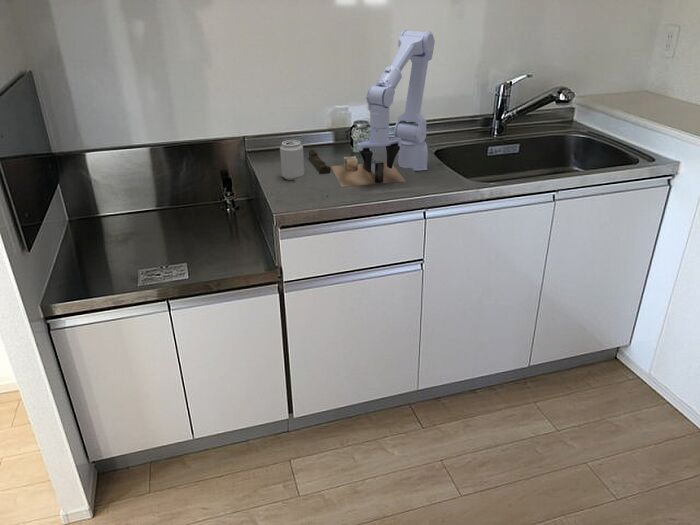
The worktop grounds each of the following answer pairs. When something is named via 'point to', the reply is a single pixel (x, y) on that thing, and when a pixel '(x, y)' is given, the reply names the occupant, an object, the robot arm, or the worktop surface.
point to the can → (292, 159)
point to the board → (364, 175)
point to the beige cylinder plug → (352, 164)
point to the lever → (376, 170)
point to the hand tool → (318, 163)
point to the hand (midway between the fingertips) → (379, 169)
